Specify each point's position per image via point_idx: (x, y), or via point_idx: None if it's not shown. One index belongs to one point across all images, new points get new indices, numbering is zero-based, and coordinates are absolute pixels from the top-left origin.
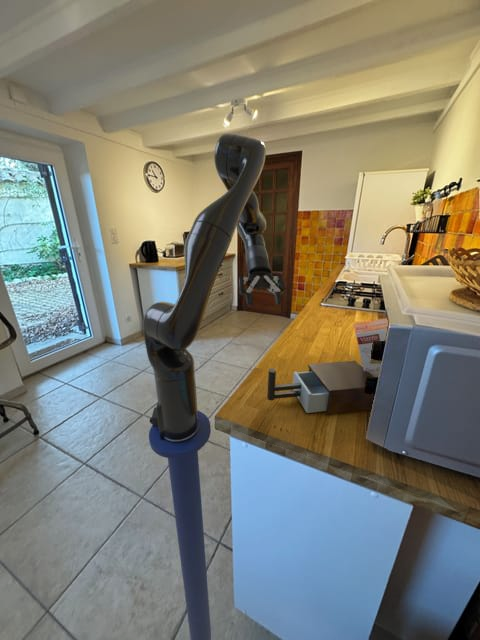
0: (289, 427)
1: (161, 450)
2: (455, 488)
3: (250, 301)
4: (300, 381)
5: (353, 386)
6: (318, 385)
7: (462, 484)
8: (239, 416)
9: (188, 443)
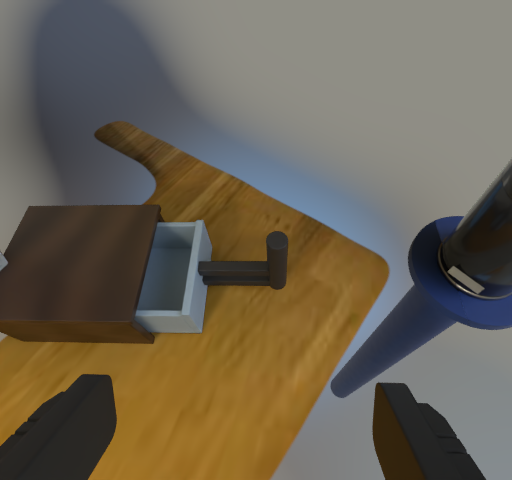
0: (260, 222)
1: None
2: (114, 130)
3: (408, 396)
4: (195, 265)
5: (96, 210)
6: None
7: (102, 132)
8: (354, 259)
9: (445, 231)
